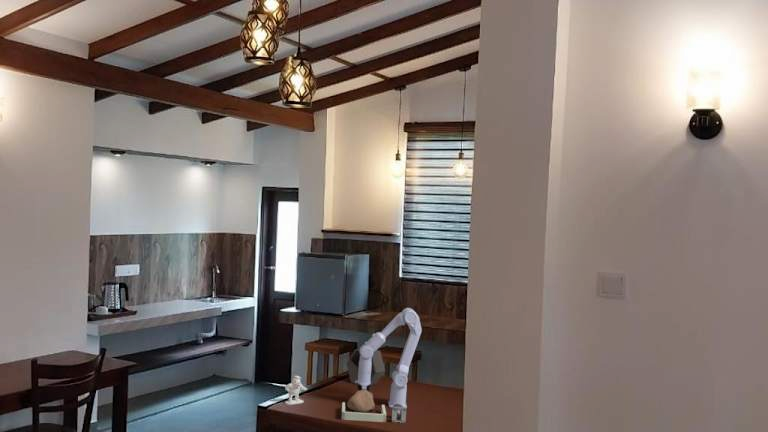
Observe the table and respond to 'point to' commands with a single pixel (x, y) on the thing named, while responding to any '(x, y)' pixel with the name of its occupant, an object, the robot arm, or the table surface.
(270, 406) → the table surface
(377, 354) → the planter
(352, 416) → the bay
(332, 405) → the table surface
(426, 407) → the table surface
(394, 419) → the axle mount
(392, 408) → the wheel
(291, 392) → the figurine
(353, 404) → the stone
